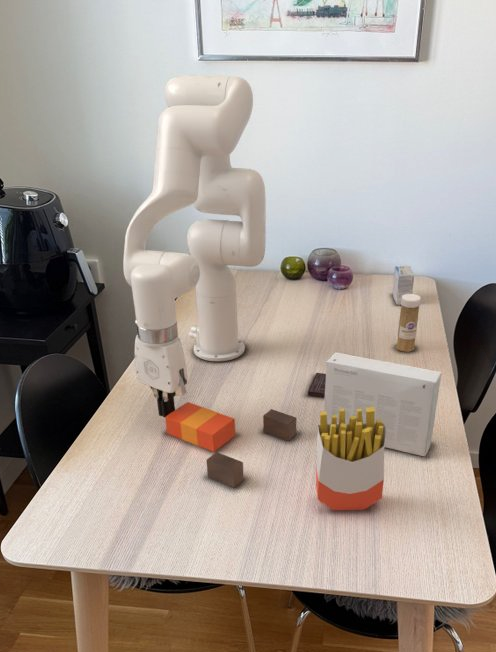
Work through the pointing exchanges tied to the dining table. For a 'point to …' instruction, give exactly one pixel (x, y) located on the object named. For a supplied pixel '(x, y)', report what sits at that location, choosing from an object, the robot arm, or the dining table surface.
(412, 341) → the sprinkles bottle
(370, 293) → the dining table surface
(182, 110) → the robot arm
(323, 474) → the french fries container
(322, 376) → the chocolate bar
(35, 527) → the dining table surface
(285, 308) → the dining table surface
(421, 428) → the skincare box
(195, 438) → the orange packet
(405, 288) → the medicine box
